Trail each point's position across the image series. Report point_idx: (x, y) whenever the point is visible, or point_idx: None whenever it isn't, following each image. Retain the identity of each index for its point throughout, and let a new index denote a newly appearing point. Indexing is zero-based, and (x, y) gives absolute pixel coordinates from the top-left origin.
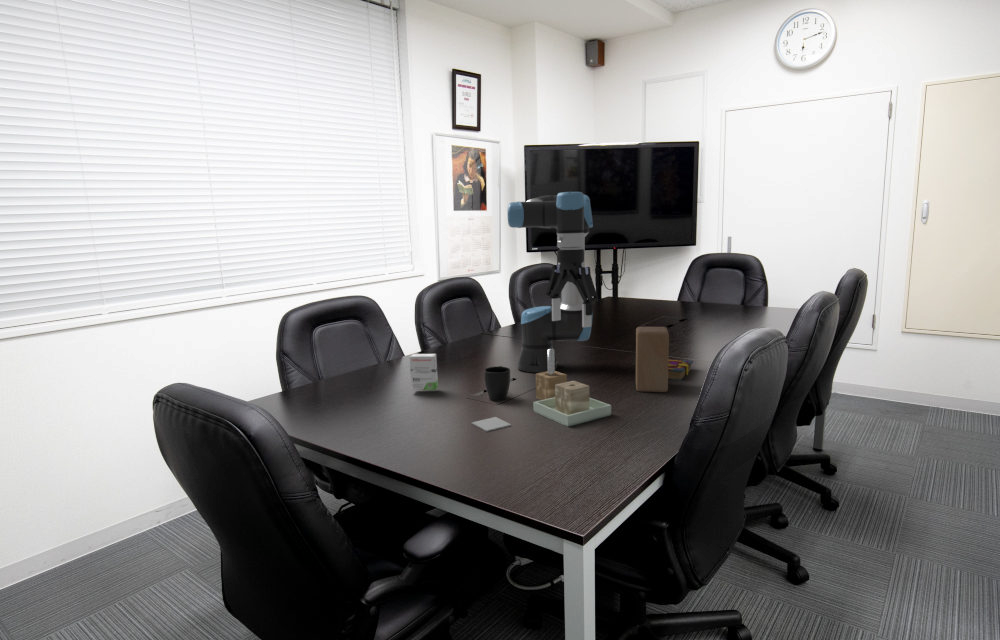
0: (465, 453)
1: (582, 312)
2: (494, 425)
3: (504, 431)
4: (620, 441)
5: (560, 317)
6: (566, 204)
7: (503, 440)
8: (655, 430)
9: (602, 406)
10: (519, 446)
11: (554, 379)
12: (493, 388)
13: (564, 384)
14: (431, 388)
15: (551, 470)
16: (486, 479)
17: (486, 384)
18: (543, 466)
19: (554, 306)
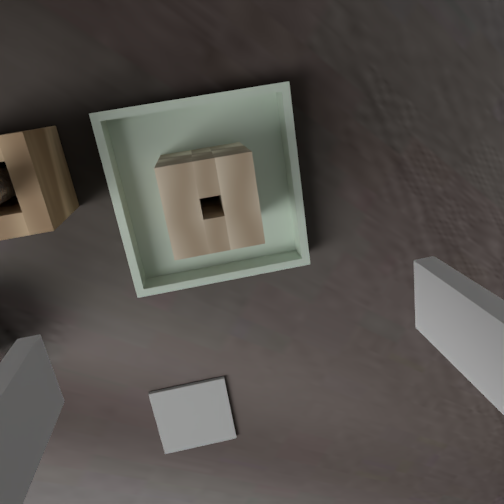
0: (328, 494)
1: (489, 395)
2: (212, 414)
3: (252, 400)
4: (457, 185)
5: (32, 348)
6: None
7: (303, 417)
8: (456, 43)
9: (286, 117)
10: (352, 398)
11: (48, 200)
12: None
13: (188, 228)
14: None
15: None
16: (448, 486)
17: None
18: (463, 391)
19: (16, 494)
